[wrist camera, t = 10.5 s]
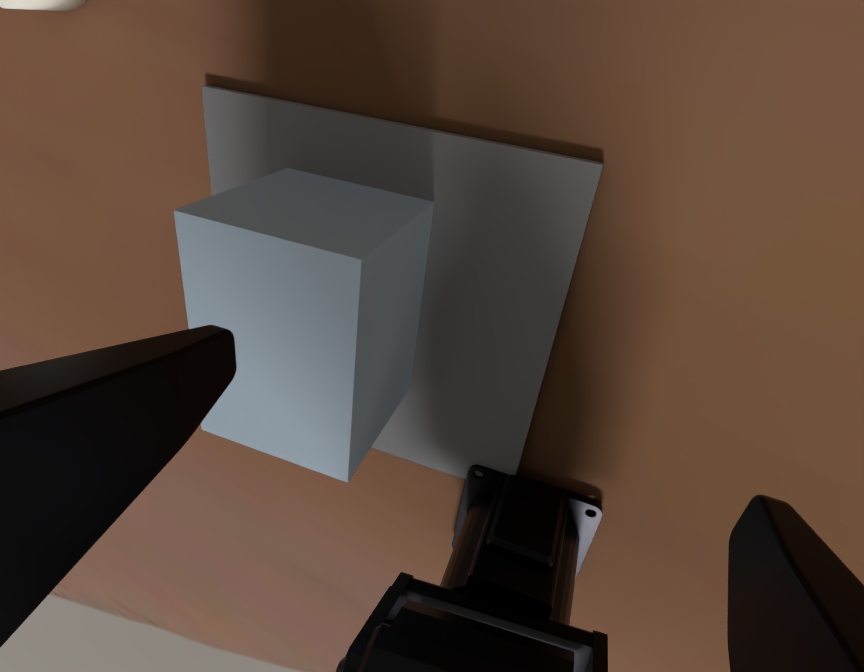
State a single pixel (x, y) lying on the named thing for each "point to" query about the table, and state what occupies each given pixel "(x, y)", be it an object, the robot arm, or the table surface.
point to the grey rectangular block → (308, 310)
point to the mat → (441, 258)
